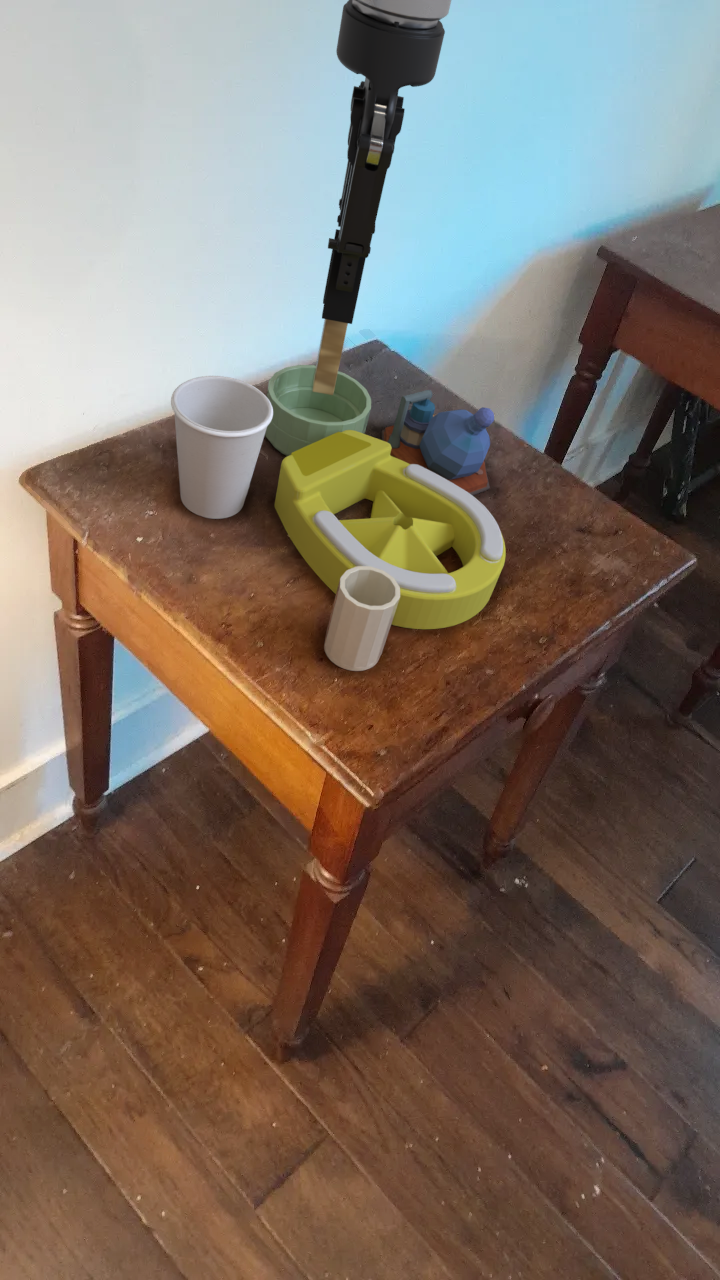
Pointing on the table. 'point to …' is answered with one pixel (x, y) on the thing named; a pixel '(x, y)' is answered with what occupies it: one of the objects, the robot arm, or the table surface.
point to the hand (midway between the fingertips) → (337, 311)
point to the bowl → (313, 408)
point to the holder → (361, 617)
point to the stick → (329, 356)
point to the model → (442, 441)
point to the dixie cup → (218, 442)
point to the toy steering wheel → (390, 527)
